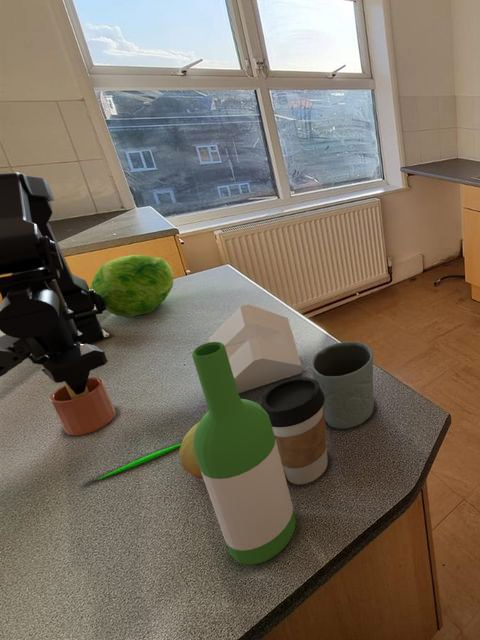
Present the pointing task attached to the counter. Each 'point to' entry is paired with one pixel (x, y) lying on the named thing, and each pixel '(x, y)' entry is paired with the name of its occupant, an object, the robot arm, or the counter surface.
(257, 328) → the beige block
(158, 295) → the lettuce
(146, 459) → the leaf
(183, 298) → the counter surface
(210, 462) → the bottle
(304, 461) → the coffee cup
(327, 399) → the grey green pot
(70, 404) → the cup
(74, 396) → the tan solid cylinder
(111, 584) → the counter surface
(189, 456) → the apple
